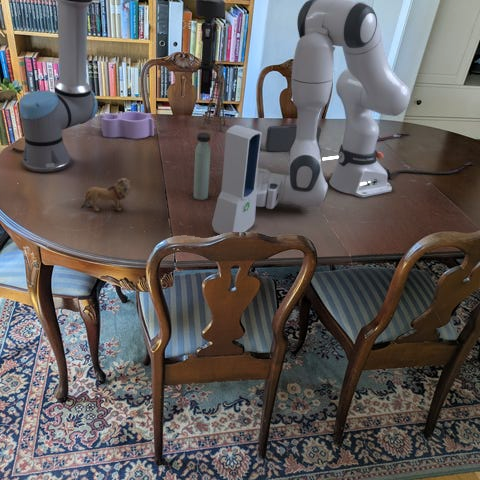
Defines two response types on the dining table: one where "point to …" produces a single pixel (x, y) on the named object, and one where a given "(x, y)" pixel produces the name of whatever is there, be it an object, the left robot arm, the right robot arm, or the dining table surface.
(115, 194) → the lion figurine
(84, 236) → the dining table surface
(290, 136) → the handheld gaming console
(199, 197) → the bottle
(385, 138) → the sword
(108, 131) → the clip
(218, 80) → the eiffel tower model
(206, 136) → the cap
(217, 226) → the electronic device
